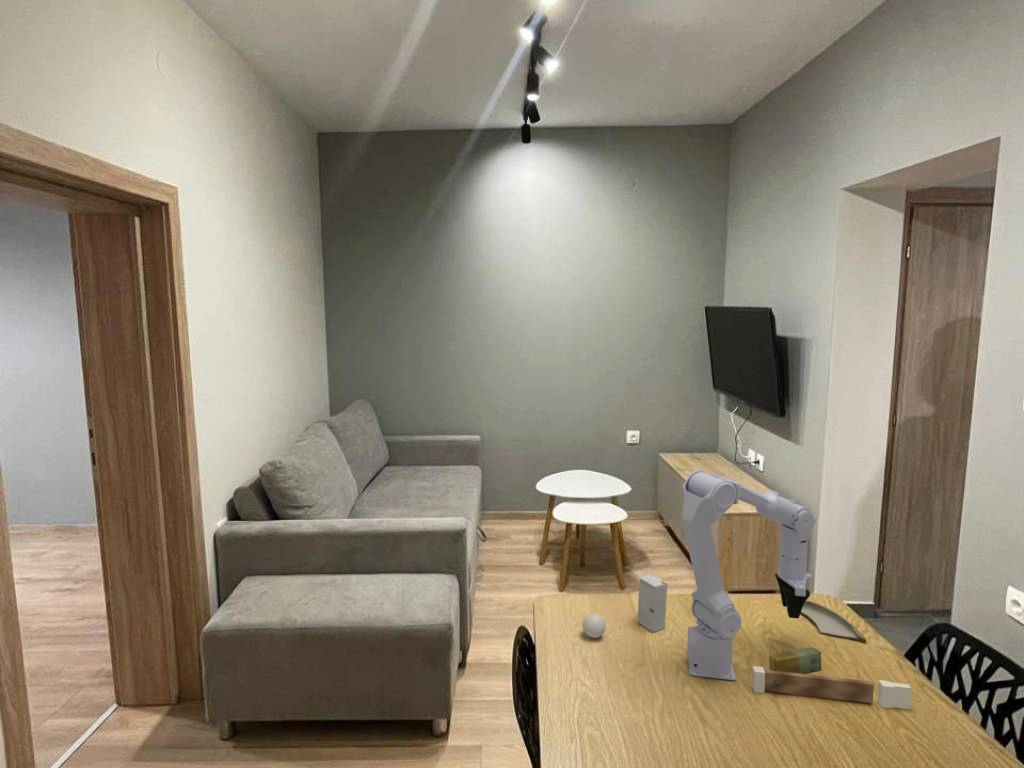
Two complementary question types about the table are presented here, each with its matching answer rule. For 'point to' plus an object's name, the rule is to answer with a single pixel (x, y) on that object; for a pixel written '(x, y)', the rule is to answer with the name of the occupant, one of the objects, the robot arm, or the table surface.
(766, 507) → the robot arm
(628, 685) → the table surface
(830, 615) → the ceramic fragment
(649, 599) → the skincare box
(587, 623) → the white ball
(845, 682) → the brown wooden plank
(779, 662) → the medication box
